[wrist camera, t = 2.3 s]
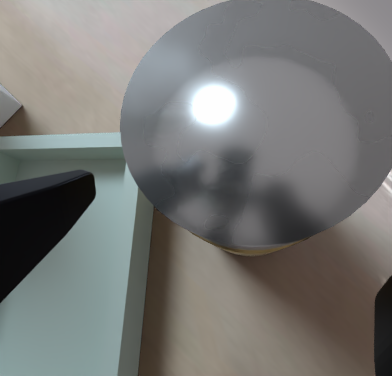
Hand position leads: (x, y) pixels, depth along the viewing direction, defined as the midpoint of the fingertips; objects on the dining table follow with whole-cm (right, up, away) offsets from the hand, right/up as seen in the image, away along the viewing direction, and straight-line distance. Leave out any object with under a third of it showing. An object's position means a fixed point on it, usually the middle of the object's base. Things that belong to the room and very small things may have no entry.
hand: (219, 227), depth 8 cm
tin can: (+3, 0, +10) cm, 10 cm away
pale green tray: (-10, -5, +11) cm, 15 cm away
